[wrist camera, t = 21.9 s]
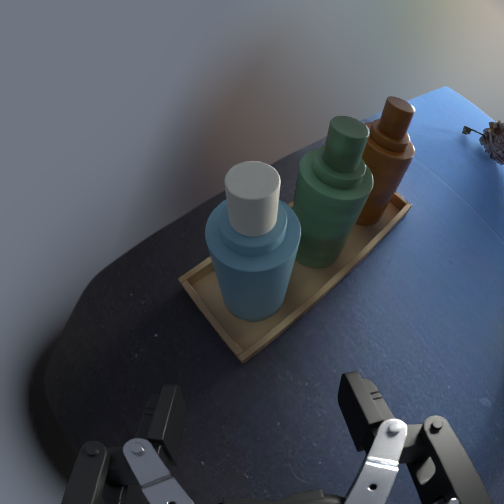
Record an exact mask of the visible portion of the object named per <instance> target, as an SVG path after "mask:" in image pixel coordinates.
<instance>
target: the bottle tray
mask: <svg viewBox="0 0 504 504" xmlns="http://www.w3.org/2000/svg"><path fill="white" fill-rule="evenodd" d="M414 112H415V109H414V108H413V106H412V105H410V104H409V103H408V102H406V101H404V100H402V99H400V98H397V97H388V98H387V100H386V103H385V106H384V109H383V113H382V116H381V119H378V120H375V121H373V122H369V123H365V124H364V123H362V122H361V121H359V120H357V119H355V118H352V117H347V116H336V117H334V118H333V119H332V120H331V121H330V126H329V130H328V135H327V140H326V144H325V146H322V147H320V148H317V149H313V150H311V151H309V152H307V153H306V154H305V155H304V156H303V157H302V159H301V161H300V166H299V172H298V178H297V184H296V190H295V196H294V201H292V202H291V203H289V204H288V206H289V207H290V208H291V209H292V210H293V211H294V213H295V214H296V216H297V218H298V220H299V223H300V227H301V238H300V243H299V247H298V250H297V254H296V258H295V262H294V265H293V269H292V272H291V276H290V280H289V283H288V287H287V290H286V294H285V297H284V301H283V303H282V305H281V307H280V309H279V310H278V311H277V312H276V313H275V314H274V315H273V316H271V317H270V318H268V319H265V320H262V321H257V322H251V321H245V320H242V319H240V318H238V317H236V316H235V315H233V314H232V313H231V312H230V311H229V310H228V308H227V307H226V305H225V303H224V300H223V297H222V293H221V290H220V287H219V284H218V280H217V277H216V274H215V270H214V267H213V263H212V260H211V257H209V258H207V259H206V260H204V261H203V262H201V263H200V264H199V265H197V266H196V267H194V268H193V269H191V270H190V271H188V272H187V273H186V274H184V275H183V276H181V277H180V278H178V280H179V282H180V283H181V285H182V287H183V288H184V290H185V291H186V292H187V294H188V295H189V297H190V298H191V299H192V301H193V302H194V303H195V305H196V306H197V307H198V309H199V310H200V311H201V313H202V314H203V315H204V317H205V318H206V319H207V321H208V322H209V323H210V324H211V326H212V327H213V328H214V330H215V331H216V332H217V333H218V335H219V336H220V337H221V338H222V340H223V341H224V342H225V343H226V345H227V346H228V347H229V348H230V350H231V351H232V352H233V353H234V355H235V356H236V357H237V358H238V359H239V361H240V362H241V363H242V364H244V363H246V362H247V361H248V360H249V359H251V358H252V357H253V356H255V355H256V354H257V353H258V352H260V351H261V350H262V349H264V348H265V347H266V346H267V345H269V344H270V343H271V342H272V341H273V340H275V339H276V338H277V337H278V336H280V335H281V334H282V333H283V332H284V331H286V330H287V329H288V328H289V327H290V326H292V325H293V324H294V323H295V322H296V321H297V320H299V319H300V318H301V317H302V316H303V315H304V314H305V313H307V312H308V311H309V310H310V309H311V308H312V307H313V306H315V305H316V304H317V303H318V302H319V301H320V300H321V299H322V298H323V297H325V296H326V295H327V294H328V293H329V292H330V291H331V290H332V289H333V288H334V287H335V286H337V285H338V284H339V283H340V282H341V281H342V280H343V279H344V278H345V277H346V276H347V275H348V274H349V273H350V272H351V271H352V270H353V269H354V268H355V267H356V266H357V265H358V264H359V263H360V262H362V261H363V260H364V259H365V258H366V257H367V256H368V255H369V254H370V253H371V252H372V250H373V249H374V248H375V247H376V246H377V245H378V244H379V243H380V242H381V241H382V240H383V239H384V238H385V237H386V236H387V235H388V234H389V233H390V232H391V231H392V230H393V229H394V228H395V226H396V225H397V224H398V223H399V222H400V221H401V220H402V219H403V218H404V217H405V216H406V214H407V213H408V211H409V210H410V208H411V206H412V205H411V204H410V203H408V201H407V200H406V199H404V198H403V197H402V196H401V195H400V194H399V193H397V192H396V190H397V188H398V186H399V184H400V182H401V180H402V178H403V176H404V174H405V172H406V170H407V169H408V167H409V165H410V163H411V161H412V159H413V156H414V154H415V149H414V146H413V144H412V143H411V141H410V137H409V135H408V133H407V130H408V127H409V125H410V122H411V120H412V117H413V115H414Z"/></svg>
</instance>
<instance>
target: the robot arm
mask: <svg viewBox="0 0 504 504" xmlns="http://www.w3.org/2000/svg"><path fill="white" fill-rule="evenodd" d="M338 403H339V406H340V409H341V411H342V414H343V416H344V419H345V421H346V424H347V427H348V429H349V432H350V434H351V437H352V439H353V442H354V444H355V447H356V449H357V452H359V451H363V450H365V452H366V456H365V458H364V461H363V463H362V465H361V467H360V469H359V471H358V473H357V475H356V477H355V479H354V481H353V483H352V485H351V487H350V488H349V490H348V492H347V494H346V495H345V497H344V498H343V497H340V496H337V495H332V494H323V492H322V489H319V490H314V491H308V492H302V493H297V494H294V495H291V496H288V497H285V498H282V499H279V500H275V501H269V500H261V499H254V498H223V503H218V504H385V503H386V500H387V498H388V496H389V493H390V491H391V488H392V486H393V483H394V480H395V478H396V475H397V472H398V469H399V465H398V464H401V463H406V465H407V467H408V470H409V472H410V474H411V477H412V479H413V482H414V485H415V487H416V490H417V492H418V495H419V498H420V500H421V503H422V504H493V503H492V501H491V498H490V496H489V494H488V492H487V490H486V488H485V486H484V484H483V482H482V480H481V479H480V477H479V475H478V473H477V471H476V469H475V467H474V466H473V464H472V462H471V460H470V458H469V457H468V455H467V453H466V451H465V450H464V448H463V446H462V444H461V443H460V441H459V439H458V438H457V436H456V434H455V433H454V431H453V429H452V428H451V426H450V425H449V423H448V421H447V420H446V419H445V418H443V417H441V416H431V417H429V418H427V419H426V420H425V422H424V424H415V425H406V424H405V423H404V422H403V421H402V420H399V419H395V418H394V416H393V414H392V413H391V411H390V409H389V408H388V406H387V404H386V402H385V401H384V399H383V398H382V396H381V394H380V392H379V390H378V389H377V387H376V385H375V384H374V383H373V382H371V381H370V380H369V379H363V380H362V378H361V376H360V374H359V373H358V372H357V371H355V372H349V373H344V374H342V376H341V381H340V386H339V391H338ZM185 416H186V407H185V402H184V399H183V396H182V392H181V389H180V386H179V385H175V384H164V385H163V387H162V390H161V393H160V394H159V393H154V394H153V395H152V396H151V397H150V398H149V399H148V401H147V404H146V406H145V409H144V412H143V415H142V418H141V420H140V423H139V426H138V429H137V432H136V435H135V437H134V439H131V440H129V441H128V442H126V444H125V445H124V446H121V447H107V448H106V447H105V446H104V445H103V444H102V443H101V442H98V441H89V442H87V443H85V444H84V445H83V446H82V447H81V449H80V451H79V454H78V457H77V459H76V462H75V465H74V467H73V470H72V473H71V476H70V479H69V481H68V484H67V487H66V491H65V493H64V497H63V500H62V503H61V504H125V498H126V493H127V488H128V485H134V484H140V485H141V489H142V491H143V493H144V495H145V496H146V498H147V499H148V501H149V503H150V504H195V503H194V502H193V501H192V500H191V499H190V497H189V496H188V495H187V494H186V492H185V491H184V490H183V488H182V487H181V486H180V485H179V483H178V482H177V481H176V479H175V478H174V477H173V475H172V474H171V473H170V472H169V470H168V469H169V465H175V466H176V465H177V459H178V453H179V448H180V443H181V437H182V432H183V427H184V421H185Z"/></svg>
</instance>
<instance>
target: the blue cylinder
mask: <svg viewBox="0 0 504 504" xmlns="http://www.w3.org/2000/svg"><path fill="white" fill-rule="evenodd" d="M225 190H226V198H227V200H225V201H223V202H222V203H221V204H219V205H218V206H217V207H216V208H215V209H214V210H213V212H212V213H211V215H210V216H209V218H208V221H207V223H206V228H205V238H206V242H207V246H208V250H209V253H210V257H211V260H212V263H213V267H214V270H215V274H216V277H217V280H218V284H219V287H220V290H221V293H222V297H223V300H224V303H225V305H226V307H227V308H228V310H229V311H230V312H231V313H232V314H233V315H235V316H236V317H238V318H240V319H242V320H245V321H251V322H257V321H262V320H265V319H268V318H270V317H271V316H273V315H274V314H275V313H276V312H277V311H278V310H279V309H280V307H281V305H282V303H283V301H284V297H285V294H286V290H287V287H288V283H289V280H290V276H291V272H292V269H293V265H294V262H295V258H296V254H297V250H298V247H299V243H300V238H301V227H300V223H299V220H298V218H297V216H296V214H295V213H294V211H293V210H292V209H291V208H290V207H289V206H288V205H287V204H286V203H284V202H283V201H282V200H280V199H279V192H280V176H279V174H278V172H277V171H276V170H275V169H274V168H273V167H272V166H270V165H268V164H265V163H263V162H258V161H248V162H243V163H240V164H237V165H235V166H234V167H232V168H231V169H230V170H229V171H228V173H227V174H226V176H225Z"/></svg>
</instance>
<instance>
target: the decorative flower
mask: <svg viewBox="0 0 504 504" xmlns="http://www.w3.org/2000/svg"><path fill="white" fill-rule="evenodd" d="M489 126H490V128H486V129H484V130H483V133H484V134H481V133H479V132H477V131H475V130H473V129H471V128H468V127H466V126H464V128H463V132H462V133H464V134H470V132H471V131H474V132H477V133H479V134H481V135H482V137H481V138H480V139H479V141H480V143H481V145H484V148H485V149H486V150H485V152H488V153H489V154H490V155H491V157H490V158H491V159H494V160H495V161H496V162H497V163H500V165H503V164H504V123H501V122H500V121H496V122H495V123H494V122H490V123H489Z"/></svg>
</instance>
